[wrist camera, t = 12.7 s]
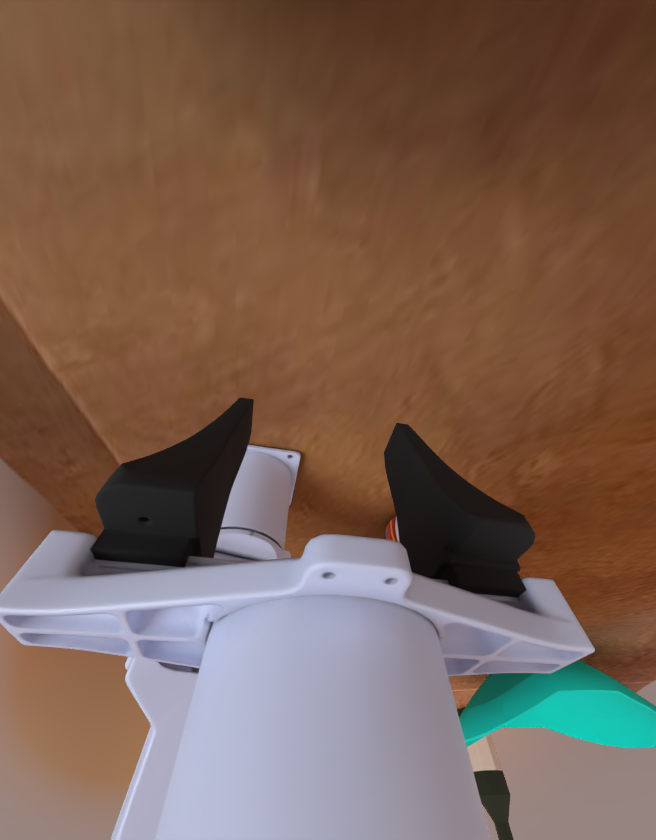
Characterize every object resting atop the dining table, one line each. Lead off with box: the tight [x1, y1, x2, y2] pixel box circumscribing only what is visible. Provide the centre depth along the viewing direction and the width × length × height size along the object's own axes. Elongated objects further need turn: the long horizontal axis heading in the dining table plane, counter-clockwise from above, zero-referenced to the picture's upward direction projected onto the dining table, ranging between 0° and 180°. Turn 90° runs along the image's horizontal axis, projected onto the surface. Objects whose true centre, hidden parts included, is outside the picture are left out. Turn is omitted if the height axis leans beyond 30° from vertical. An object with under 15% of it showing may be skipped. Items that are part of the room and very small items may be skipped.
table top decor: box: [459, 660, 656, 748], centre depth 60 cm, size 40×28×13 cm
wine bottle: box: [457, 708, 513, 840], centre depth 82 cm, size 8×8×30 cm
